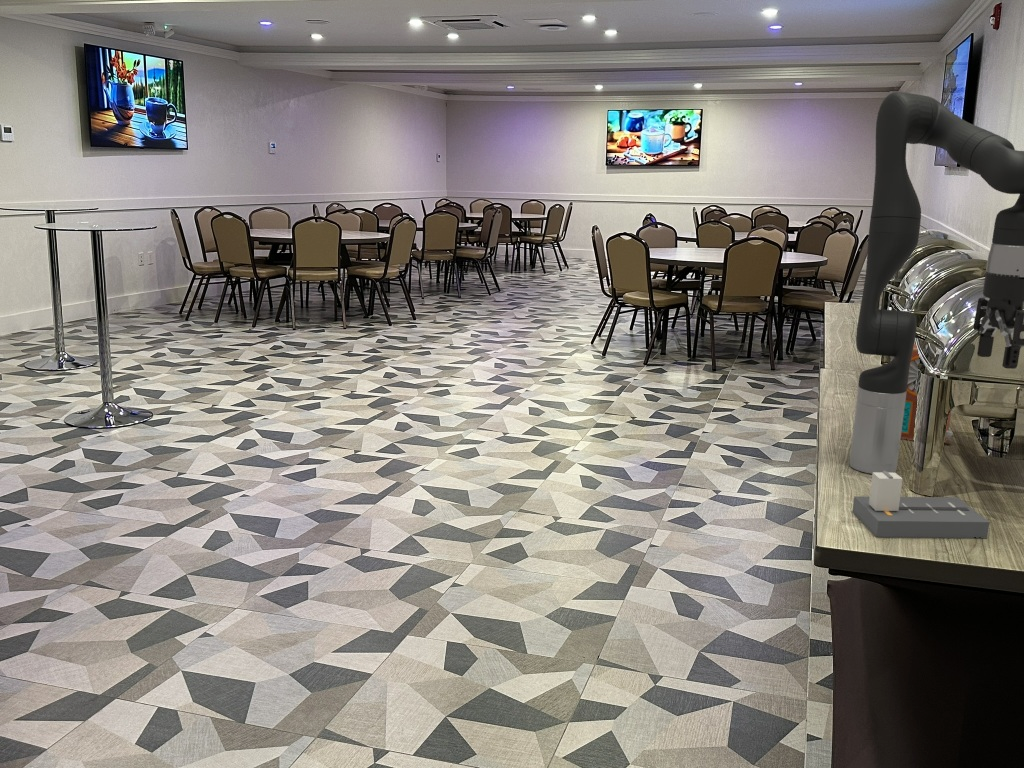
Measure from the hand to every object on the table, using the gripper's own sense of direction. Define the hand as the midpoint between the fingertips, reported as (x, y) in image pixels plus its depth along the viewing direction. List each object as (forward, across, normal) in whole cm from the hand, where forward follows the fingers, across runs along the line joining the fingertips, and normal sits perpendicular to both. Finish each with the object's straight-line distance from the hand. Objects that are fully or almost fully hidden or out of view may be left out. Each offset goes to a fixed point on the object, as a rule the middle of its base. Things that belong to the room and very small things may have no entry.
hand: (996, 362), depth 156 cm
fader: (+25, +7, -20) cm, 33 cm away
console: (+28, +7, -14) cm, 32 cm away
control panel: (+28, -42, +8) cm, 51 cm away
